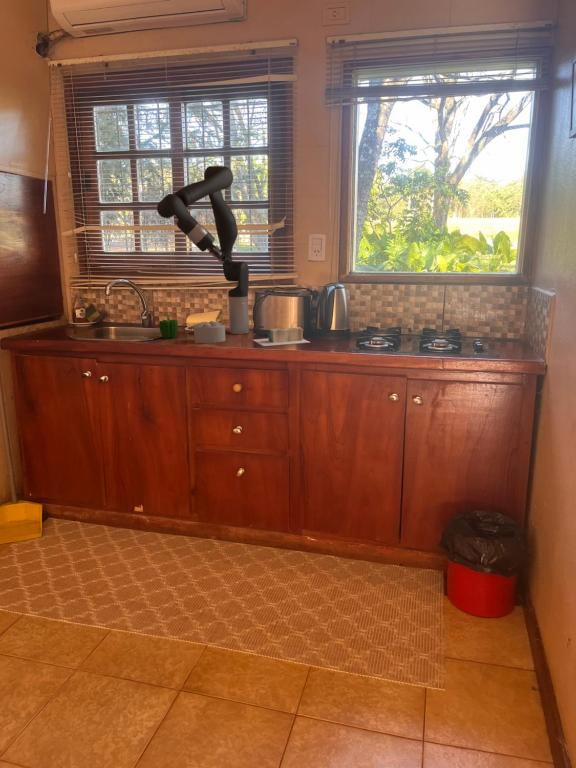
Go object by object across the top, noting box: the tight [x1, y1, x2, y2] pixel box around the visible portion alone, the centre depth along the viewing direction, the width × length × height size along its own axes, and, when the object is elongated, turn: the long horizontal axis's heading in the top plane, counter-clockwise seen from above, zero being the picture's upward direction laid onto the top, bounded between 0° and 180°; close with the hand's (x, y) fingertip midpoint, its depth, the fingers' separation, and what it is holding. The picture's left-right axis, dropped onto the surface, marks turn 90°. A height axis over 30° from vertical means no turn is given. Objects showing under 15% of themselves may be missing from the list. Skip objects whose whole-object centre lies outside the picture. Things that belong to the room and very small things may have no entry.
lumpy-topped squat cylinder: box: [193, 320, 226, 345], centre depth 238 cm, size 10×13×9 cm
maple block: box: [267, 326, 304, 343], centre depth 235 cm, size 5×5×14 cm
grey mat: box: [252, 338, 310, 347], centre depth 235 cm, size 16×21×1 cm
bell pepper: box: [158, 315, 179, 339], centre depth 248 cm, size 8×8×10 cm
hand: (231, 267), depth 226 cm, fingers closed
